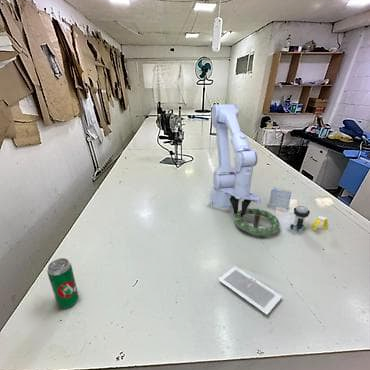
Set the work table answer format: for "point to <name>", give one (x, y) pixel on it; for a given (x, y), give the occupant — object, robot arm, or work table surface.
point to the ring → (257, 230)
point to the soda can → (63, 283)
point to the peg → (256, 220)
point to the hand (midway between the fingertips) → (239, 214)
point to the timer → (320, 218)
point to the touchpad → (251, 289)
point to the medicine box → (280, 197)
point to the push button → (299, 218)
